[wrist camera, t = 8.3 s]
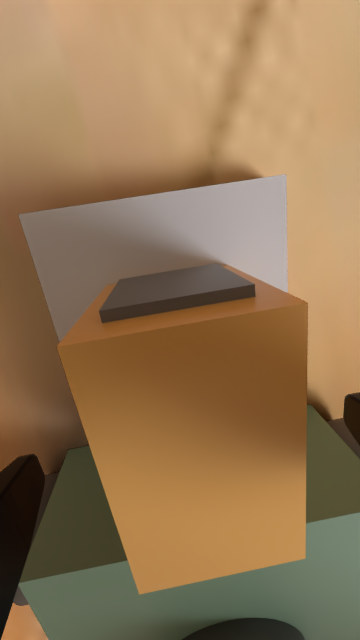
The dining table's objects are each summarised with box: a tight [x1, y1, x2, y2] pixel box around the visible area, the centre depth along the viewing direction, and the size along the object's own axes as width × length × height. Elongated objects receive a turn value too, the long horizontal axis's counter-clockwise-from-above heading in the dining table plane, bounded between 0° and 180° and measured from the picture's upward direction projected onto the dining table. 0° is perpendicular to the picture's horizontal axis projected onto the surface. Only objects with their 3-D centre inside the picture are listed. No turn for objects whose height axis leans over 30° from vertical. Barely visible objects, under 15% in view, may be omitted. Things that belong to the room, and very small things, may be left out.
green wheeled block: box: [13, 174, 360, 640], centre depth 11 cm, size 17×25×9 cm
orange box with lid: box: [57, 263, 308, 595], centre depth 9 cm, size 5×8×6 cm, turn 8°
